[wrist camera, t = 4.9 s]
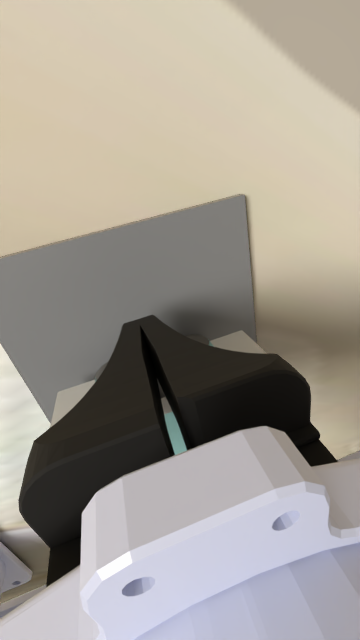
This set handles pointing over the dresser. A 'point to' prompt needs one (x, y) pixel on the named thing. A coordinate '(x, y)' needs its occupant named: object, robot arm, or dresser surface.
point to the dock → (124, 291)
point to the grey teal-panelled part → (229, 342)
